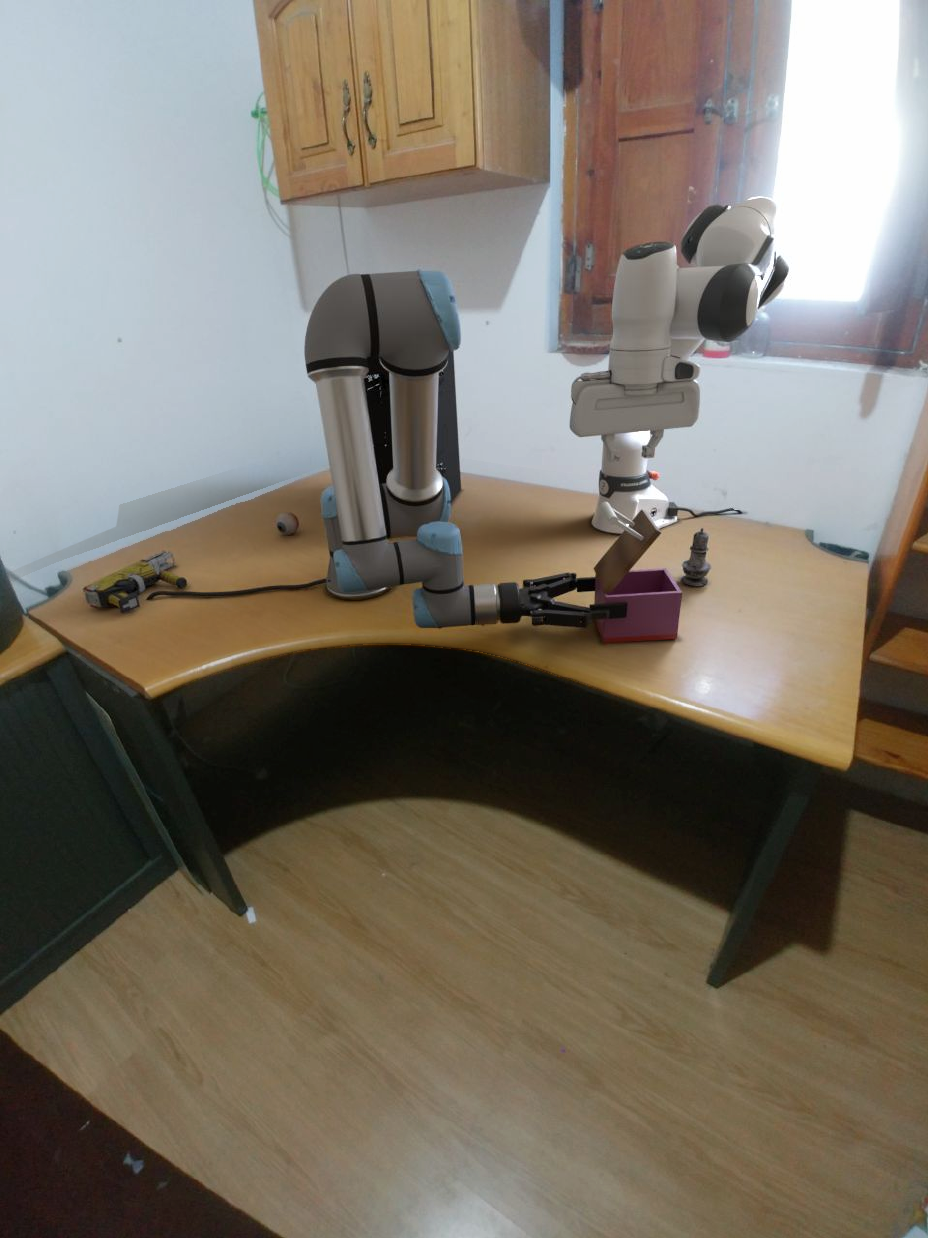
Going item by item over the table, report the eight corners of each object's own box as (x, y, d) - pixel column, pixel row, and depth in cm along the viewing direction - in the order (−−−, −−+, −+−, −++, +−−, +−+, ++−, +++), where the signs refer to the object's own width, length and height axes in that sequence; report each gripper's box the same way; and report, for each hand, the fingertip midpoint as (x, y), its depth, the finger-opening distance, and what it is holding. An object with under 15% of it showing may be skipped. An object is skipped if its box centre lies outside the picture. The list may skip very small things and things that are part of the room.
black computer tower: (428, 534, 159) (412, 349, 137) (356, 531, 164) (329, 352, 141) (461, 489, 191) (452, 333, 168) (400, 488, 195) (384, 335, 173)
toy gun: (211, 559, 145) (160, 548, 149) (132, 601, 125) (76, 587, 129) (214, 576, 147) (164, 565, 151) (137, 620, 127) (82, 606, 131)
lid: (646, 511, 108) (610, 488, 105) (661, 533, 99) (622, 507, 97) (597, 571, 114) (562, 549, 111) (608, 595, 105) (570, 572, 103)
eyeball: (273, 537, 164) (268, 516, 161) (287, 528, 169) (282, 508, 166) (291, 539, 161) (286, 518, 158) (305, 530, 166) (301, 510, 163)
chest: (661, 611, 118) (666, 567, 113) (676, 638, 109) (682, 592, 105) (593, 616, 119) (595, 572, 114) (603, 643, 110) (605, 597, 105)
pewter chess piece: (710, 587, 126) (720, 533, 120) (681, 586, 127) (688, 532, 121) (706, 574, 131) (715, 522, 125) (678, 573, 132) (685, 522, 126)
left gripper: (493, 593, 122) (602, 586, 122) (504, 654, 103) (634, 645, 103) (492, 559, 119) (604, 552, 119) (503, 616, 99) (638, 607, 99)
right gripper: (578, 376, 88) (574, 470, 94) (710, 365, 90) (697, 458, 97) (565, 370, 93) (562, 460, 100) (690, 360, 95) (679, 448, 102)
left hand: (618, 595), depth 111 cm, fingers closed on chest, 10 cm apart
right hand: (630, 459), depth 98 cm, fingers open, 5 cm apart
